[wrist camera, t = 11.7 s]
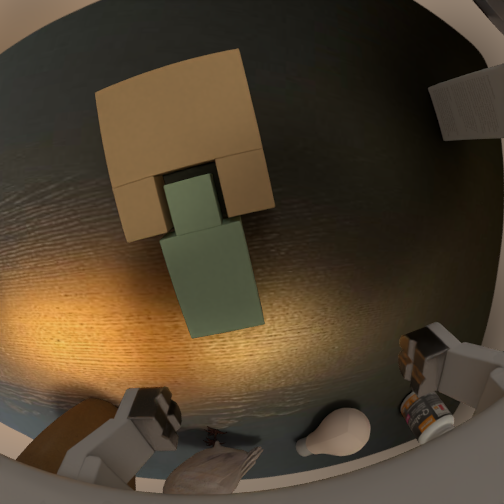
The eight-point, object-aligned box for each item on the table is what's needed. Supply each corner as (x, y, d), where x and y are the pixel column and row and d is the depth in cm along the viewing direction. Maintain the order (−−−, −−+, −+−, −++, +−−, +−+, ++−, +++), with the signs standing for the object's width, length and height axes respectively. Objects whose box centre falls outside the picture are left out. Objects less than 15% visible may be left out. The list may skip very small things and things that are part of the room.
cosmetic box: (466, 136, 23) (547, 136, 12) (442, 141, 23) (529, 140, 12) (451, 85, 22) (529, 66, 10) (425, 86, 22) (507, 61, 10)
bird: (159, 416, 31) (137, 515, 16) (265, 429, 32) (277, 528, 17) (161, 437, 32) (143, 527, 17) (258, 449, 33) (267, 539, 19)
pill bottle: (407, 388, 32) (439, 436, 22) (436, 381, 32) (470, 423, 23) (393, 416, 33) (420, 463, 24) (423, 408, 34) (451, 450, 24)
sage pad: (156, 188, 23) (145, 190, 21) (229, 169, 23) (228, 168, 21) (195, 322, 27) (191, 338, 24) (261, 308, 27) (264, 324, 24)
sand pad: (108, 99, 21) (94, 92, 18) (238, 61, 21) (238, 48, 18) (138, 235, 24) (126, 243, 22) (270, 203, 24) (275, 207, 21)
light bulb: (310, 476, 29) (380, 453, 25) (277, 457, 29) (349, 432, 24) (317, 441, 35) (379, 413, 31) (287, 420, 35) (352, 389, 30)
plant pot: (65, 356, 28) (2, 447, 12) (172, 413, 30) (151, 524, 15) (54, 414, 31) (15, 486, 15) (138, 458, 34) (120, 539, 18)
